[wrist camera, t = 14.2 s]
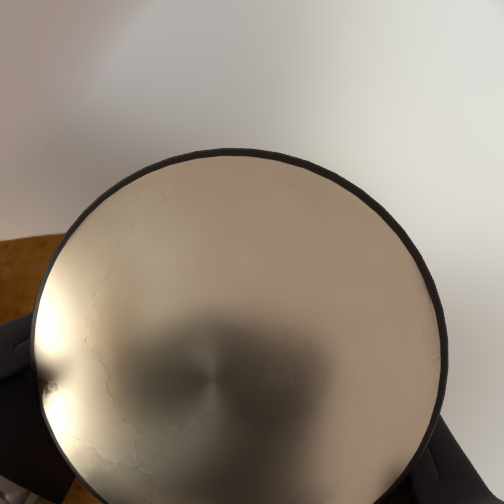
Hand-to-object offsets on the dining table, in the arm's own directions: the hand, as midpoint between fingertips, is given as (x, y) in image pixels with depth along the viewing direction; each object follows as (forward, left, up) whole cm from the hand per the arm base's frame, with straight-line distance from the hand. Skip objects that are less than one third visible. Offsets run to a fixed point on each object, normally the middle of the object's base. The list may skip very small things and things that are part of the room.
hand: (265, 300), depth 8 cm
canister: (0, +1, -5) cm, 5 cm away
